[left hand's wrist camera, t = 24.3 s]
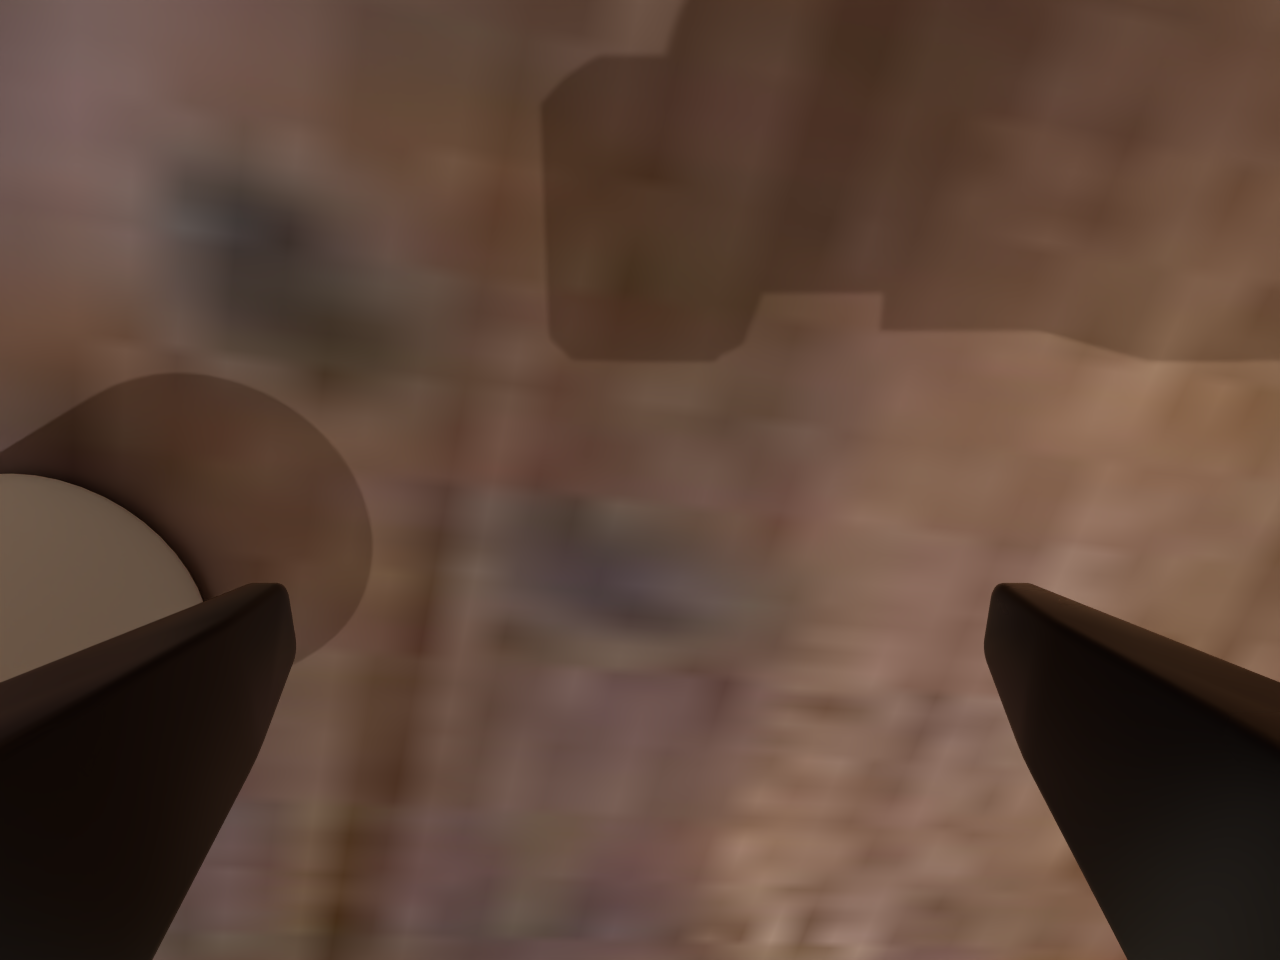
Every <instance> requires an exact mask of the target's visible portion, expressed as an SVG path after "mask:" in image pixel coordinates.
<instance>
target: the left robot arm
mask: <svg viewBox="0 0 1280 960" xmlns="http://www.w3.org/2000/svg"><path fill="white" fill-rule="evenodd" d="M295 653H296V639H295V632H294V626H293V620H292V613H291V607H290V601H289V595H288V592H287V590H286V588H285V587H284V586H283V585H282V584H279V583H251V584H247V585H245V586H242V587H240V588H237V589H235V590H232V591H229V592H227V593H224V594H222V595H219V596H217V597H214V598H212V599H209V600H207V601H204V602H202V603H199V604H197V605H194V606H192V607H189V608H187V609H184V610H182V611H179V612H177V613H174V614H172V615H169V616H166V617H164V618H161V619H159V620H156V621H154V622H151V623H149V624H146V625H144V626H141V627H139V628H136V629H134V630H131V631H129V632H126V633H124V634H121V635H119V636H116V637H114V638H111V639H109V640H106V641H103V642H101V643H98V644H96V645H93V646H91V647H88V648H86V649H83V650H81V651H78V652H76V653H73V654H71V655H68V656H66V657H63V658H61V659H58V660H56V661H53V662H51V663H48V664H46V665H43V666H40V667H38V668H35V669H33V670H30V671H28V672H25V673H23V674H20V675H18V676H15V677H13V678H10V679H8V680H5V681H3V682H0V960H152V959H153V957H154V955H155V954H156V952H157V950H158V948H159V946H160V944H161V942H162V940H163V938H164V936H165V934H166V932H167V930H168V929H169V927H170V925H171V923H172V921H173V919H174V917H175V915H176V913H177V911H178V909H179V907H180V905H181V903H182V902H183V900H184V898H185V896H186V894H187V892H188V890H189V888H190V886H191V884H192V882H193V880H194V878H195V877H196V875H197V873H198V871H199V869H200V867H201V865H202V863H203V861H204V859H205V857H206V855H207V853H208V851H209V850H210V848H211V846H212V844H213V842H214V840H215V838H216V836H217V834H218V832H219V830H220V828H221V826H222V825H223V823H224V821H225V819H226V817H227V815H228V813H229V811H230V809H231V807H232V805H233V803H234V801H235V799H236V798H237V796H238V794H239V792H240V790H241V788H242V786H243V784H244V782H245V780H246V778H247V776H248V774H249V772H250V770H251V768H252V766H253V764H254V762H255V760H256V758H257V756H258V753H259V751H260V749H261V746H262V744H263V741H264V739H265V736H266V733H267V731H268V728H269V725H270V723H271V720H272V717H273V715H274V712H275V709H276V707H277V704H278V701H279V699H280V696H281V693H282V691H283V688H284V685H285V683H286V680H287V677H288V675H289V672H290V669H291V667H292V664H293V661H294V658H295ZM984 653H985V658H986V661H987V664H988V667H989V669H990V672H991V675H992V677H993V680H994V683H995V685H996V688H997V691H998V693H999V696H1000V699H1001V701H1002V704H1003V707H1004V709H1005V712H1006V715H1007V717H1008V720H1009V723H1010V725H1011V728H1012V731H1013V733H1014V736H1015V739H1016V741H1017V744H1018V746H1019V749H1020V751H1021V753H1022V756H1023V758H1024V760H1025V762H1026V764H1027V766H1028V768H1029V770H1030V772H1031V774H1032V776H1033V778H1034V780H1035V782H1036V784H1037V786H1038V788H1039V790H1040V792H1041V794H1042V796H1043V798H1044V800H1045V801H1046V803H1047V805H1048V807H1049V809H1050V811H1051V813H1052V815H1053V817H1054V819H1055V821H1056V823H1057V825H1058V826H1059V828H1060V830H1061V832H1062V834H1063V836H1064V838H1065V840H1066V842H1067V844H1068V846H1069V848H1070V850H1071V852H1072V853H1073V855H1074V857H1075V859H1076V861H1077V863H1078V865H1079V867H1080V869H1081V871H1082V873H1083V875H1084V877H1085V878H1086V880H1087V882H1088V884H1089V886H1090V888H1091V890H1092V892H1093V894H1094V896H1095V898H1096V900H1097V902H1098V904H1099V905H1100V907H1101V909H1102V911H1103V913H1104V915H1105V917H1106V919H1107V921H1108V923H1109V925H1110V927H1111V929H1112V930H1113V932H1114V934H1115V936H1116V938H1117V940H1118V942H1119V944H1120V946H1121V948H1122V950H1123V952H1124V954H1125V956H1126V957H1127V959H1128V960H1280V682H1277V681H1275V680H1272V679H1270V678H1267V677H1265V676H1262V675H1260V674H1257V673H1255V672H1252V671H1250V670H1247V669H1245V668H1242V667H1240V666H1237V665H1234V664H1232V663H1229V662H1227V661H1224V660H1222V659H1219V658H1217V657H1214V656H1212V655H1209V654H1207V653H1204V652H1202V651H1199V650H1197V649H1194V648H1192V647H1189V646H1187V645H1184V644H1182V643H1179V642H1177V641H1174V640H1171V639H1169V638H1166V637H1164V636H1161V635H1159V634H1156V633H1154V632H1151V631H1149V630H1146V629H1144V628H1141V627H1139V626H1136V625H1134V624H1131V623H1129V622H1126V621H1124V620H1121V619H1119V618H1116V617H1114V616H1111V615H1108V614H1106V613H1103V612H1101V611H1098V610H1096V609H1093V608H1091V607H1088V606H1086V605H1083V604H1081V603H1078V602H1076V601H1073V600H1071V599H1068V598H1066V597H1063V596H1061V595H1058V594H1056V593H1053V592H1051V591H1048V590H1045V589H1043V588H1040V587H1038V586H1035V585H1033V584H1029V583H1001V584H998V585H997V586H996V587H995V588H994V590H993V592H992V595H991V601H990V607H989V613H988V620H987V626H986V632H985V639H984Z"/></svg>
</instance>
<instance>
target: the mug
mask: <svg viewBox="0 0 1280 960" xmlns="http://www.w3.org/2000/svg"><path fill="white" fill-rule="evenodd" d="M202 602H203V600H202V598H201V595H200V593H199V590H198V588H197V586H196V584H195V583H194V581H193V579H192V577H191V575H190V573H189V572H188V570H187V569H186V567H185V566H184V564H183V563H182V562H181V560H180V559H179V558H178V556H177V555H176V553H175V552H174V551H173V550H172V549H171V548H170V547H169V546H168V545H167V543H166V542H165V541H164V540H163V539H162V538H161V537H160V536H159V535H158V534H157V533H155V532H154V531H153V530H152V529H151V528H150V527H149V526H148V525H146V524H145V523H144V522H143V521H142V520H140V519H139V518H137V517H136V516H135V515H133V514H132V513H130V512H129V511H128V510H126V509H125V508H123V507H121V506H119V505H118V504H116V503H114V502H112V501H110V500H109V499H107V498H105V497H103V496H101V495H98V494H96V493H94V492H91V491H89V490H87V489H85V488H82V487H79V486H76V485H73V484H70V483H67V482H64V481H60V480H57V479H52V478H47V477H41V476H36V475H25V474H13V473H12V474H0V682H3V681H5V680H8V679H10V678H13V677H15V676H18V675H20V674H23V673H25V672H28V671H30V670H33V669H35V668H38V667H40V666H43V665H46V664H48V663H51V662H53V661H56V660H58V659H61V658H63V657H66V656H68V655H71V654H73V653H76V652H78V651H81V650H83V649H86V648H88V647H91V646H93V645H96V644H98V643H101V642H103V641H106V640H109V639H111V638H114V637H116V636H119V635H121V634H124V633H126V632H129V631H131V630H134V629H136V628H139V627H141V626H144V625H146V624H149V623H151V622H154V621H156V620H159V619H161V618H164V617H166V616H169V615H172V614H174V613H177V612H179V611H182V610H184V609H187V608H189V607H192V606H194V605H197V604H199V603H202Z"/></svg>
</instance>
